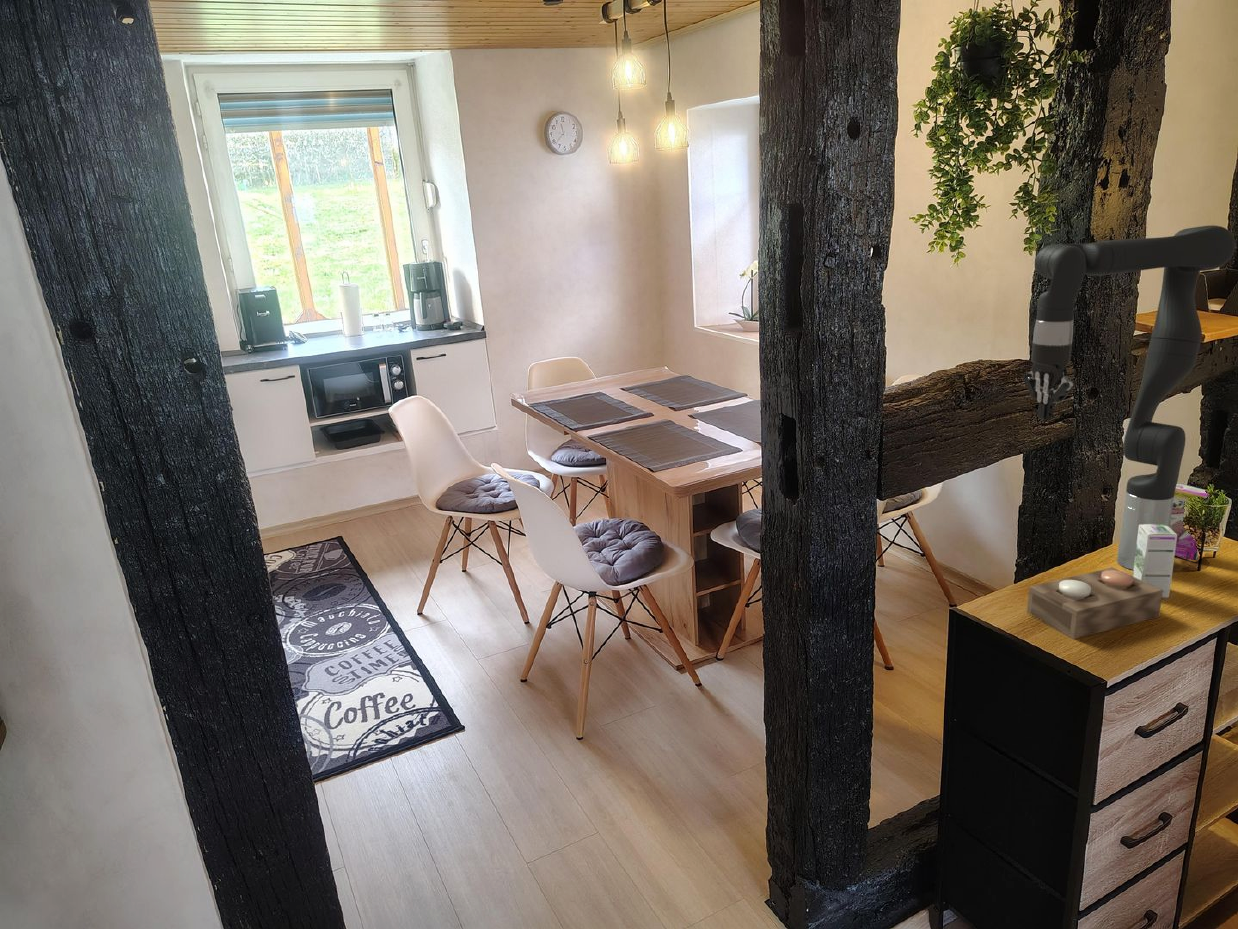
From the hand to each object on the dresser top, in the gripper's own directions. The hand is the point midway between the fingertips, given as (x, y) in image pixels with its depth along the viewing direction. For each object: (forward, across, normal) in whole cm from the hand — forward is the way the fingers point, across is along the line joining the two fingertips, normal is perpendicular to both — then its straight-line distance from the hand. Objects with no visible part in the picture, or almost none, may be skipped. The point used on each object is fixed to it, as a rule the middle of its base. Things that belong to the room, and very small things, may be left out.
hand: (1044, 419), depth 189 cm
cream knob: (+35, -24, +13) cm, 44 cm away
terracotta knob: (+35, -24, +1) cm, 42 cm away
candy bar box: (+35, -9, -34) cm, 50 cm away
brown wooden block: (+35, -24, +7) cm, 43 cm away
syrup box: (+35, -21, -12) cm, 43 cm away
